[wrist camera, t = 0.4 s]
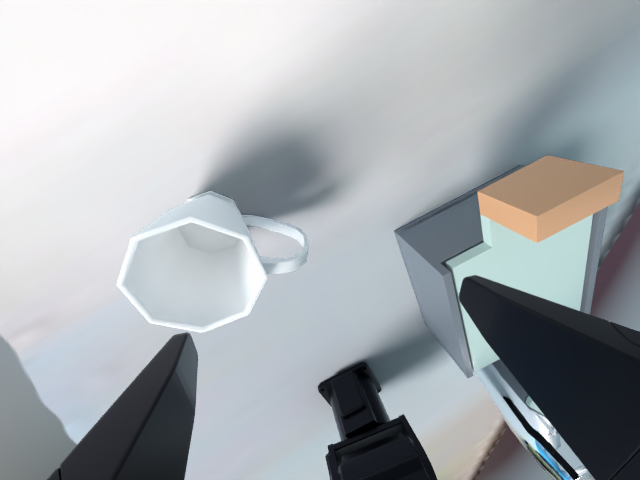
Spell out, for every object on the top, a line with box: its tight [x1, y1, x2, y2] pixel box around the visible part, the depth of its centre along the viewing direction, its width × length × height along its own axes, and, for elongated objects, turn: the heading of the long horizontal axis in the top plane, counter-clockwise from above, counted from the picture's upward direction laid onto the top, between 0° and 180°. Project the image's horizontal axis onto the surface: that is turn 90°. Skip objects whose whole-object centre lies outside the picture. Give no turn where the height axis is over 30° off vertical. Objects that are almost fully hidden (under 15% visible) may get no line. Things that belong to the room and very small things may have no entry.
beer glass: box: [472, 359, 595, 480], centre depth 30 cm, size 7×7×15 cm
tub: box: [394, 165, 608, 378], centre depth 26 cm, size 14×13×7 cm
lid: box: [446, 155, 624, 372], centre depth 21 cm, size 18×11×4 cm, turn 24°
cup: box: [117, 191, 309, 333], centre depth 18 cm, size 7×10×8 cm
